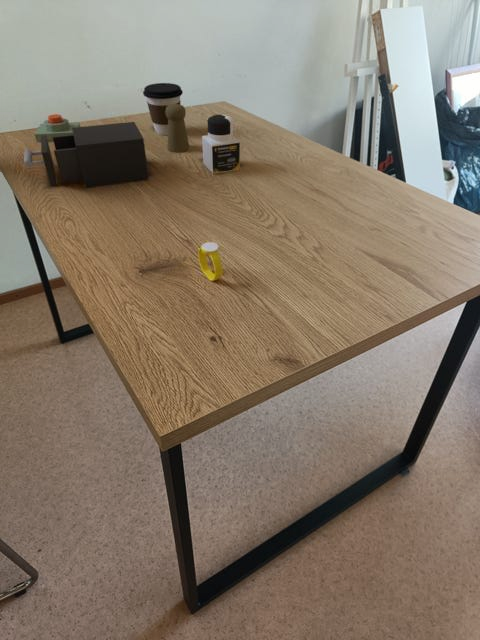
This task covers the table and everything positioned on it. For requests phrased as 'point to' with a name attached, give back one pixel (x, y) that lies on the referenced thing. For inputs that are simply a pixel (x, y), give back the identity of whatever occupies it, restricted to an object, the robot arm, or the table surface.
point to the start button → (55, 119)
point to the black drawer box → (111, 154)
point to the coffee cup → (161, 103)
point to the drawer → (58, 159)
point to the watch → (212, 250)
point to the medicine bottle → (221, 145)
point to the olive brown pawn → (176, 128)
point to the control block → (55, 129)
